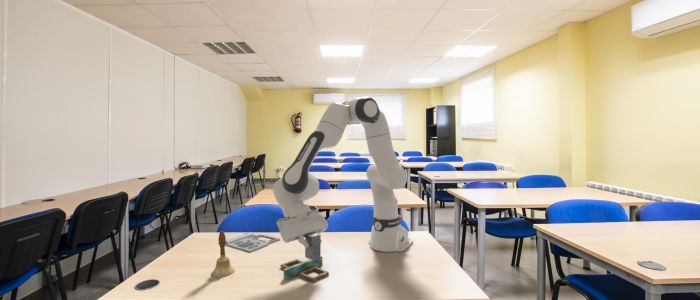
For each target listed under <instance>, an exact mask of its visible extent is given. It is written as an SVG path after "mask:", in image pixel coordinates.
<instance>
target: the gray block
mask: <svg viewBox="0 0 700 300" xmlns="http://www.w3.org/2000/svg"><path fill="white" fill-rule="evenodd" d="M321 236H322V235H321V233H320V234H317V233H314V232H313V233H309V234H306V235H305V237H304V239H305V240H306V241H307V242H308V241H309V243H310V245H311V246H310V247H309V248H305V247H304V253H305V255H304V258H306V259H307V260H309V259H311V260H314V259H317V258H319V257H320V256H321V254H322V253H321V249H322V248H321V245H322V242H321V241H322V239H321V238H322V237H321Z"/></svg>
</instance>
